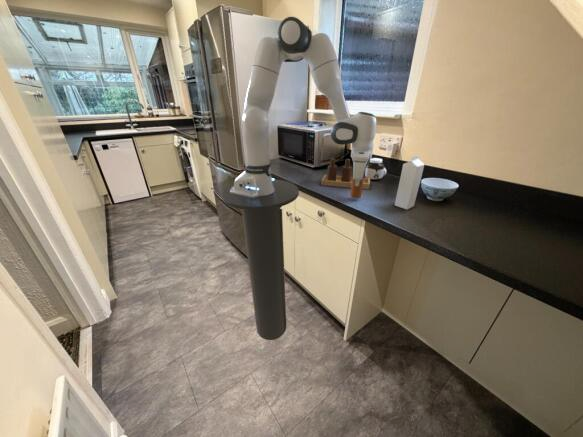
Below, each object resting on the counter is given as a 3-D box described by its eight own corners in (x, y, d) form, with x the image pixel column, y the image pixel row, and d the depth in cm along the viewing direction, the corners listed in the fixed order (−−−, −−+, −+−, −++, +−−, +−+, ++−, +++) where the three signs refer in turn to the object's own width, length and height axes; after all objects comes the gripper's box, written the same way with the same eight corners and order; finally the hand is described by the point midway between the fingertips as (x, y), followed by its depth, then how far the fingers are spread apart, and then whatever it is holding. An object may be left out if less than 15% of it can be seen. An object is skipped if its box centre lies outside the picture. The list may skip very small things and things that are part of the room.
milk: (394, 205, 105) (404, 156, 94) (401, 202, 108) (411, 153, 98) (407, 209, 100) (419, 158, 90) (414, 206, 104) (426, 156, 93)
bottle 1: (326, 182, 131) (327, 159, 125) (327, 179, 135) (329, 157, 129) (335, 183, 130) (337, 160, 124) (336, 180, 134) (338, 157, 128)
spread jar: (364, 180, 136) (366, 160, 131) (365, 174, 146) (367, 156, 140) (385, 182, 133) (389, 161, 127) (385, 176, 142) (388, 157, 137)
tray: (321, 185, 130) (321, 180, 129) (324, 179, 139) (324, 174, 137) (369, 189, 123) (369, 184, 122) (369, 182, 132) (370, 178, 131)
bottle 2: (340, 183, 129) (342, 160, 123) (341, 180, 133) (343, 158, 127) (349, 184, 128) (352, 160, 122) (350, 181, 132) (353, 158, 126)
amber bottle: (349, 197, 109) (353, 170, 103) (350, 193, 113) (354, 167, 107) (360, 198, 108) (364, 171, 102) (361, 194, 112) (365, 168, 106)
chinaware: (415, 191, 119) (419, 176, 116) (448, 194, 115) (453, 179, 112) (420, 202, 107) (424, 186, 103) (457, 206, 103) (463, 189, 99)
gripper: (355, 148, 111) (352, 176, 117) (352, 157, 93) (348, 190, 100) (369, 149, 109) (365, 177, 115) (368, 158, 92) (363, 191, 98)
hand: (357, 183), depth 107 cm, fingers closed on amber bottle, 5 cm apart
